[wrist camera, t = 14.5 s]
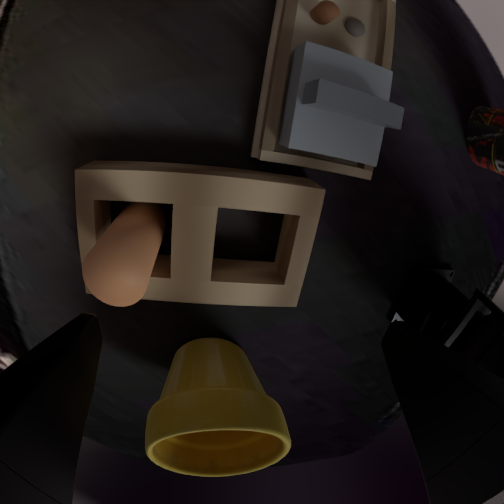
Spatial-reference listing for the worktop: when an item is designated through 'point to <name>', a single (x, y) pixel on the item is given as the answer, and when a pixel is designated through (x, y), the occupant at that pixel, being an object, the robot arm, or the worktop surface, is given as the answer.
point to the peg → (125, 255)
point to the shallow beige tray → (326, 34)
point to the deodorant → (486, 138)
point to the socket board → (206, 227)
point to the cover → (337, 105)
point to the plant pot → (214, 415)
